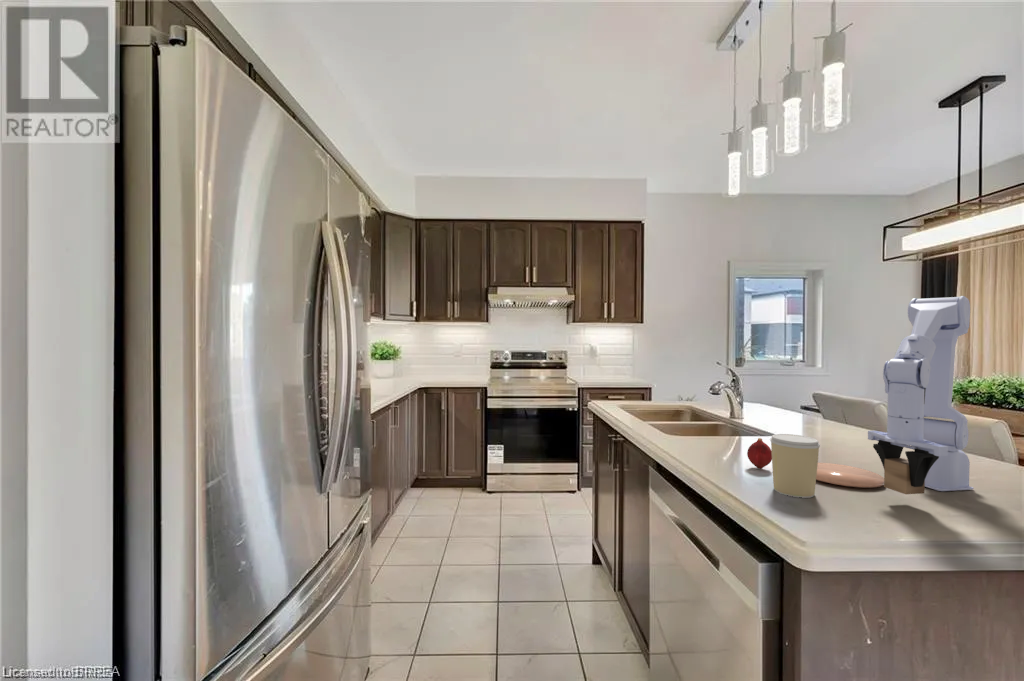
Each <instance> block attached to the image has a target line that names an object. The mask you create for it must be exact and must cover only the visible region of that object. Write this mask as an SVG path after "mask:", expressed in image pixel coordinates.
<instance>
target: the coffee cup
mask: <svg viewBox="0 0 1024 681" xmlns="http://www.w3.org/2000/svg"><path fill="white" fill-rule="evenodd" d="M770 444H771V446H770V449H771V451H772V461H771V466H772V481H773V482H772V484H773V490H774V491H775V492H777V493H779V494H781V495H784V496H787V495H788V496H787V497H792V496H793V497H794V498H799V497H802V499H805V498H806V499H807V498H808V499H809V498H813V497H814V496H815V492H816V485H817V484H816V482H817V480H816V475H817V465H818V463H819V454H820V453H819V452H820V447H821V444H820V443H819V440H818V439H816V438H814V437H811V436H805V435H800V434H790V433H776V434H772V435H771V438H770ZM793 497H792V498H793Z"/></svg>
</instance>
